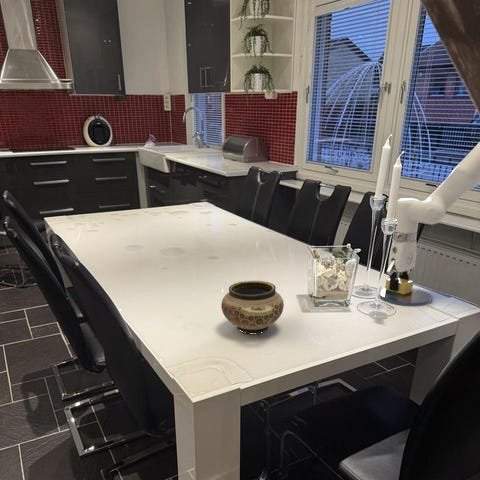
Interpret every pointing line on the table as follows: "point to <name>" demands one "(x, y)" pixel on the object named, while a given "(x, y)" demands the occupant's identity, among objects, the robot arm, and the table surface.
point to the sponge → (400, 287)
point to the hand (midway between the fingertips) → (398, 288)
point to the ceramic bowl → (252, 305)
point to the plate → (407, 298)
